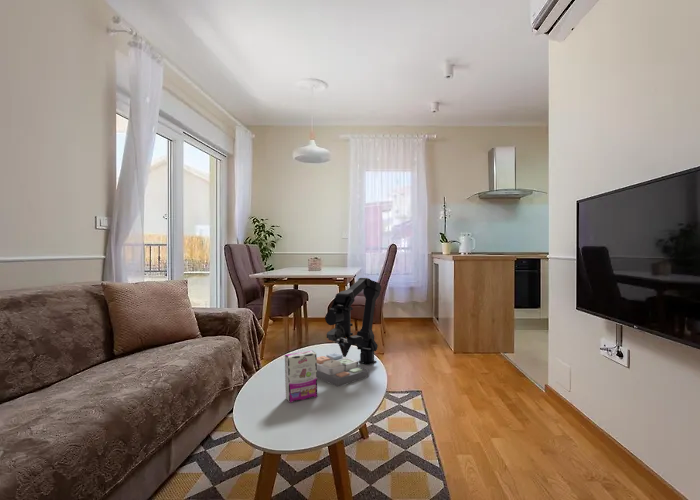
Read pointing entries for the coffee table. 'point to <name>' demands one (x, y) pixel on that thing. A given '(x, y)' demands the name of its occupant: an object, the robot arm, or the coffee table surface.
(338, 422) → the coffee table surface
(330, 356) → the slate key
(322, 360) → the peach flat square block
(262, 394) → the coffee table surface
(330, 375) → the keypad
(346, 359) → the sage key
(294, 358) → the candy bar box
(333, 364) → the cream key
